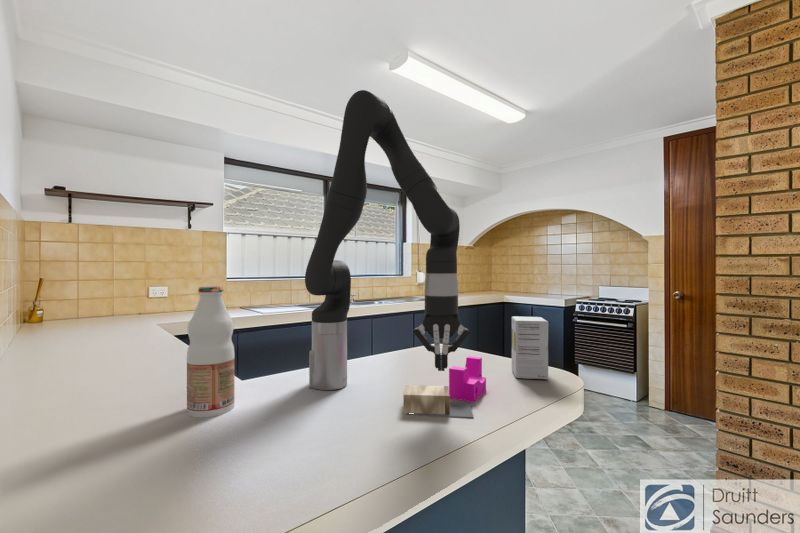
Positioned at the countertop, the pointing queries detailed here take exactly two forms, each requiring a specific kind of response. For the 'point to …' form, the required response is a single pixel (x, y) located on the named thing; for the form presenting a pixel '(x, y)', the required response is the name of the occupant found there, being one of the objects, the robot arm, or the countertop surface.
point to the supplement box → (530, 347)
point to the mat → (454, 411)
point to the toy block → (467, 380)
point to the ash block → (426, 399)
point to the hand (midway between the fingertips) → (441, 370)
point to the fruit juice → (210, 357)
